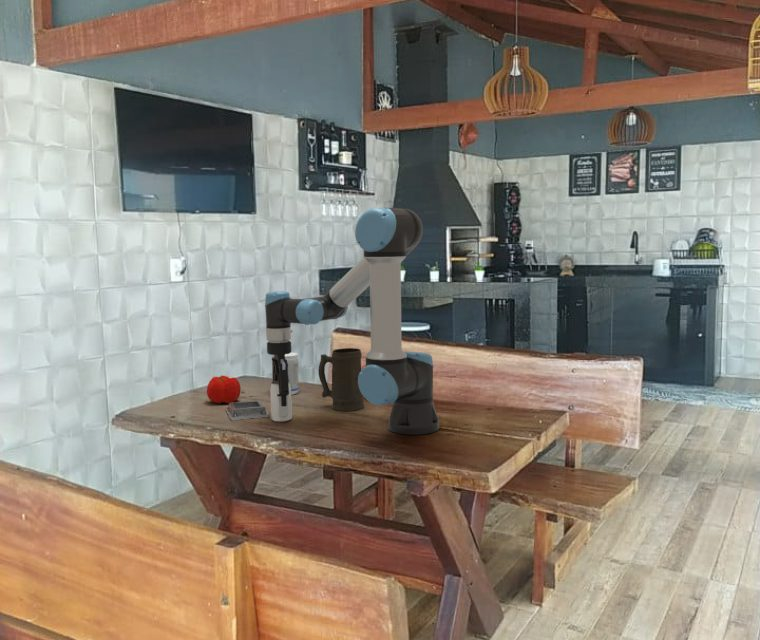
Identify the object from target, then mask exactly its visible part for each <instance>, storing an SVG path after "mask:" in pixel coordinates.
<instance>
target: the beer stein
mask: <svg viewBox="0 0 760 640" xmlns="http://www.w3.org/2000/svg"><path fill="white" fill-rule="evenodd" d="M331 353H332V354H331V355H330V356H329V355H327V354H325V353H323V354H320V362H319V364H318V370H317V371H318V378H319V380H320V381H319V382H320V383H321V386H322V388H323V391H322V392H321V396H322V398H327V397H329V398H331V399H332V406H331V407H332V410H334V411H338V412H340V411H341V412H352V411H354V412H355V411H358V410H362V409H364V408H365V404H364V398H365V397H364V396H363V395H362V393H361V391H360V389H359V386H358V376H359V373H360V372H361V371H362V355H363V354H362V350H361V349H360V348H358V347H357V348H353V347H347V348H346V347H345V348H337V349H336V348H335V349H333V350H332V352H331ZM327 363H330V364H331V366H332V367H331V389H330V388H329V385H328V382H327V378H326V374H325V373H326V369H325V367H326V364H327Z"/></svg>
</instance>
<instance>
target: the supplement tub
mask: <svg viewBox="0 0 760 640" xmlns="http://www.w3.org/2000/svg"><path fill="white" fill-rule="evenodd" d="M272 357H274V355H272ZM285 360H287V363H288V381H289V384H290V386H291V396H293V395H296V394H298V393H299V390H300V389H299V385H300V384H299V355H298V352H292V351H291V353H289V354H285ZM271 367H272V369H271V372H272V374H271V375H272V376H271V377H272V378H271V379H272V381H271V383H272V382H273V366H272V365H271Z"/></svg>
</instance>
